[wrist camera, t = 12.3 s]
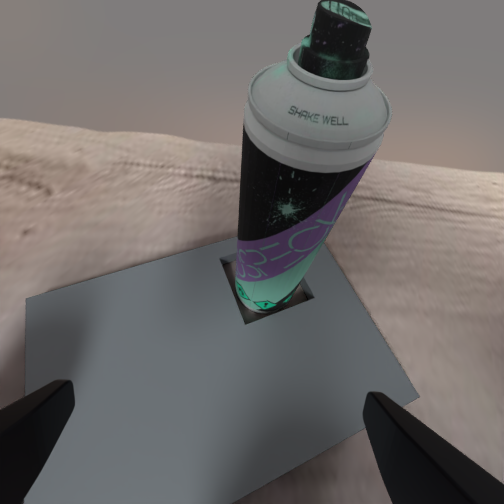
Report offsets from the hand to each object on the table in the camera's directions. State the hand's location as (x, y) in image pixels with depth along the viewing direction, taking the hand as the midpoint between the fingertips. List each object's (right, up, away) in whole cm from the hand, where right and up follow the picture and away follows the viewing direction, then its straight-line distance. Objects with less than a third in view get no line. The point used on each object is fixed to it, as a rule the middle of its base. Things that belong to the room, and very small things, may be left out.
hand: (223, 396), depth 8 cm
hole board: (-2, -4, +13) cm, 14 cm away
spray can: (+2, +1, +17) cm, 17 cm away
